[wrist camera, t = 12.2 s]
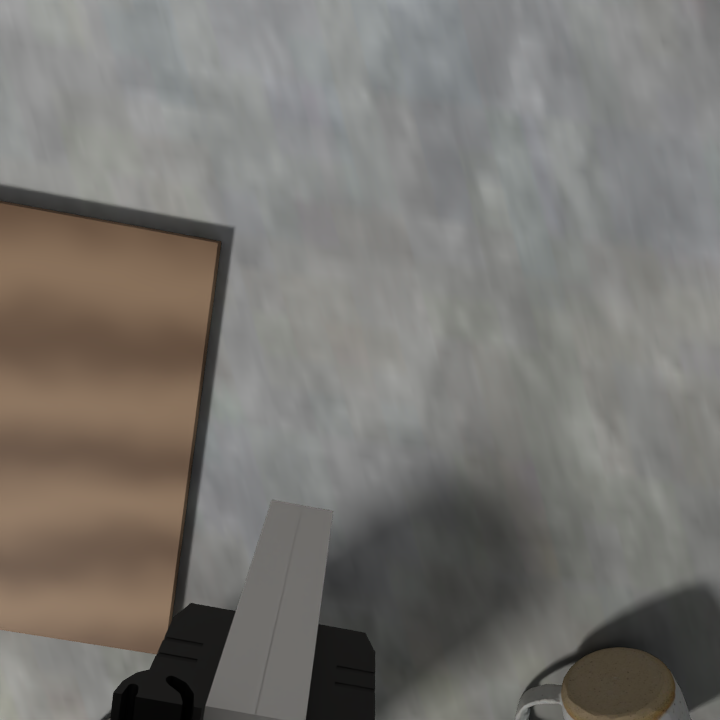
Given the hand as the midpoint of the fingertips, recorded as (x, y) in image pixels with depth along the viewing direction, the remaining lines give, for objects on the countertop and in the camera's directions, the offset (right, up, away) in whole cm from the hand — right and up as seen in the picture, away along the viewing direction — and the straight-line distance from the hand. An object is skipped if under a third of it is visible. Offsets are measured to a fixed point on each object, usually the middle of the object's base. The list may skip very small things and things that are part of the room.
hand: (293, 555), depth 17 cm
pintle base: (-23, +1, +25) cm, 34 cm away
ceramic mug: (+17, -18, +31) cm, 40 cm away
